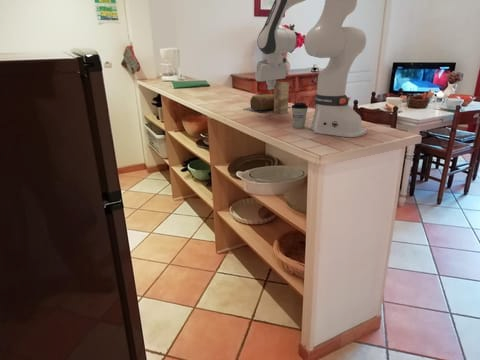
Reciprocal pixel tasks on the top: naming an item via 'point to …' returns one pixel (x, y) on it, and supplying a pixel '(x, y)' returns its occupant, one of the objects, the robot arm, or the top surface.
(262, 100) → the block
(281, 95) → the oak post
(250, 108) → the grey rubber mat
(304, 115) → the coffee cup
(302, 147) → the top surface
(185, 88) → the top surface
